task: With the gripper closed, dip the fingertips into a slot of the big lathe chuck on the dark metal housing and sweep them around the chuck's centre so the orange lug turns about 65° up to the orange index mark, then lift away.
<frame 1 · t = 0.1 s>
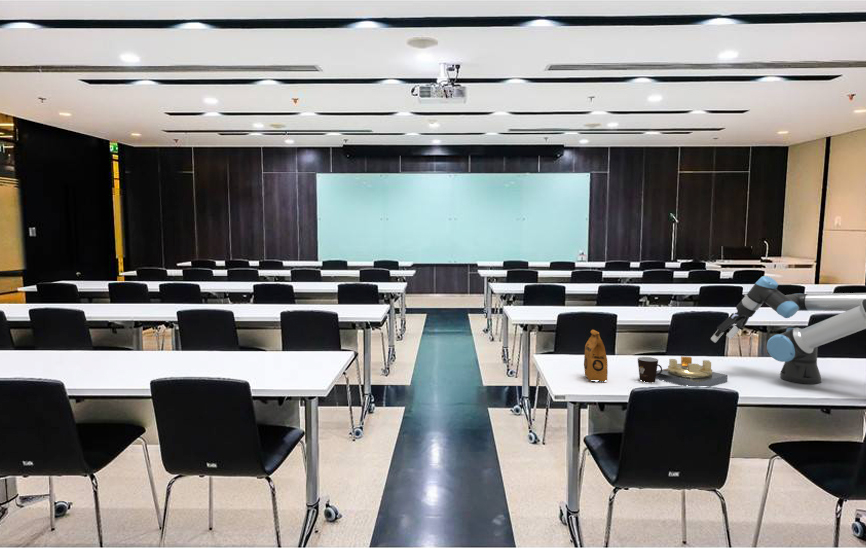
hand: (720, 338, 257), 15 cm above the table, tool tilted 35°, fingers open, 13 cm apart
lathe chuck: (689, 366, 241), point 6 cm above the table, hinge at 0.0°
coffee mug: (648, 382, 239), on the table
housing: (689, 379, 242), on the table
coffee package: (595, 379, 244), on the table
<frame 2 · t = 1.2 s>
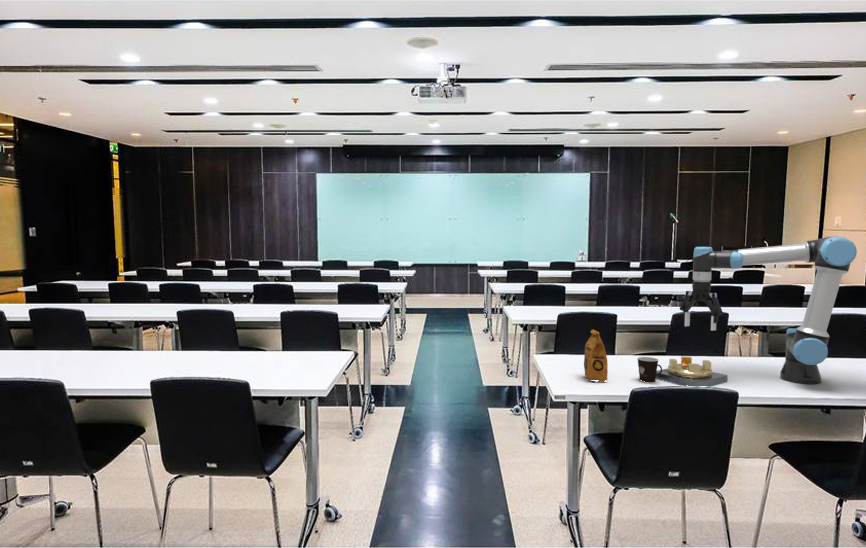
hand: (699, 328, 244), 23 cm above the table, tool pointing down, fingers open, 12 cm apart
nothing on the table moved.
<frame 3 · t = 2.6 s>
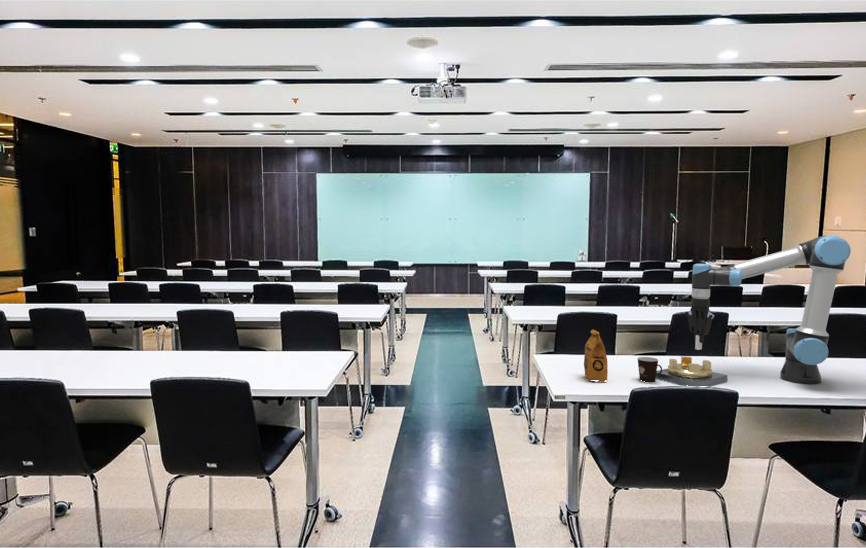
hand: (698, 349, 245), 13 cm above the table, tool pointing down, fingers closed
nothing on the table moved.
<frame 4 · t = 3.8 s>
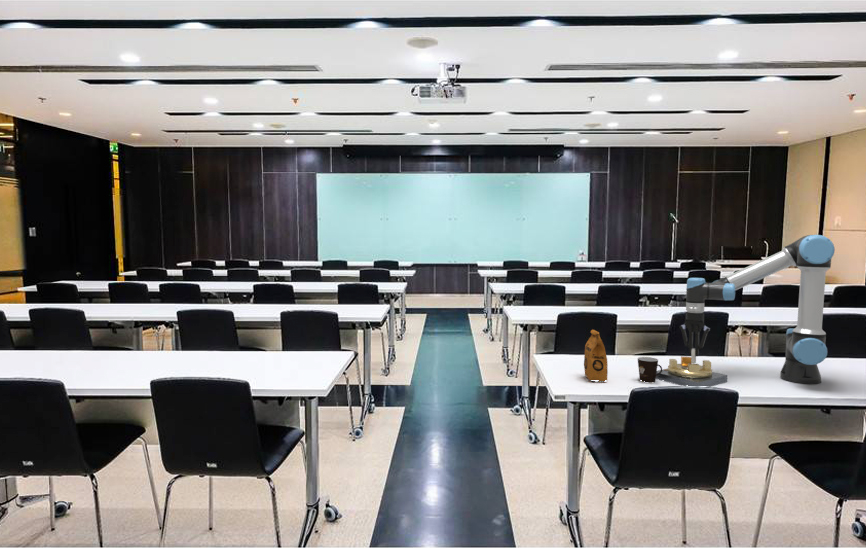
hand: (693, 362, 247), 7 cm above the table, tool pointing down, fingers closed
lathe chuck: (689, 366, 241), point 6 cm above the table, hinge at 0.0°, touching gripper
everything else where it was.
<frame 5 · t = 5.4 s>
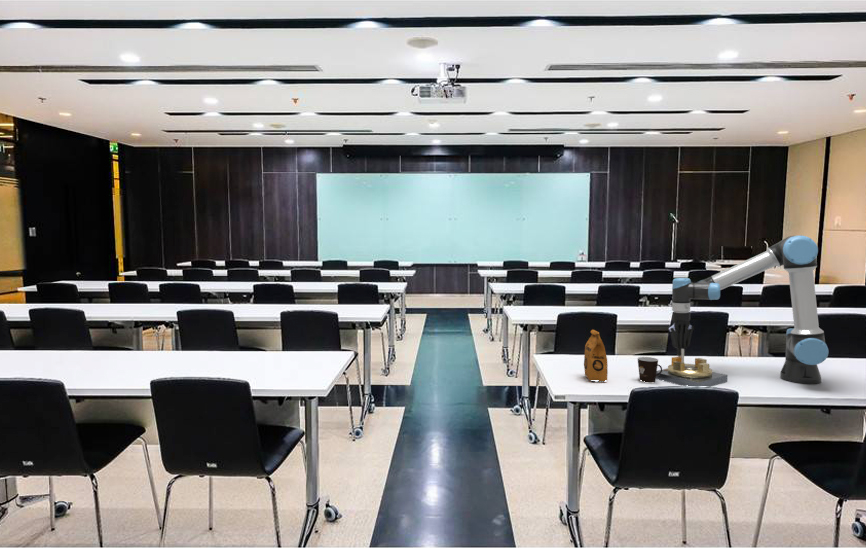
hand: (680, 362, 248), 6 cm above the table, tool pointing down, fingers closed
lathe chuck: (689, 366, 241), point 6 cm above the table, hinge at 38.0°, touching gripper
everything else where it was.
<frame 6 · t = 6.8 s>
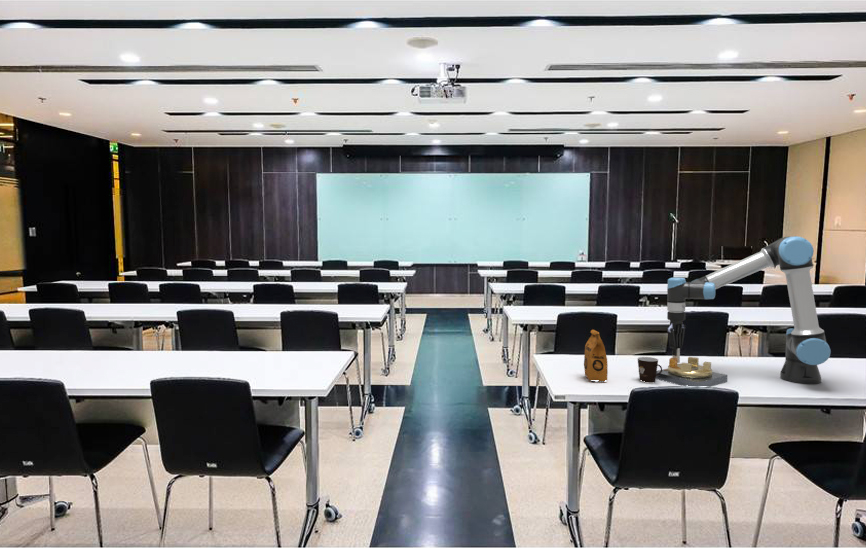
hand: (676, 362, 247), 7 cm above the table, tool pointing down, fingers closed
lathe chuck: (689, 366, 241), point 6 cm above the table, hinge at 66.1°, touching gripper
everything else where it was.
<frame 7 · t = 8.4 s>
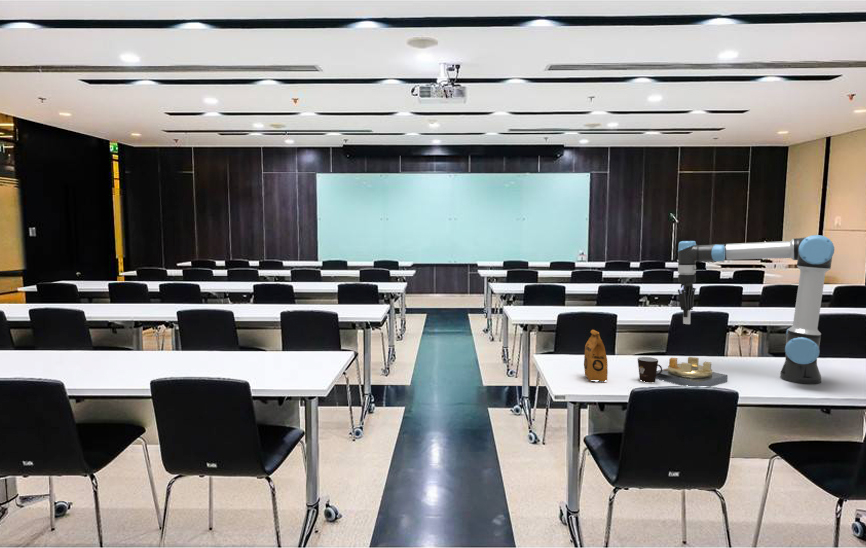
hand: (686, 323, 253), 23 cm above the table, tool pointing down, fingers closed
lathe chuck: (689, 366, 241), point 6 cm above the table, hinge at 66.1°
everything else where it was.
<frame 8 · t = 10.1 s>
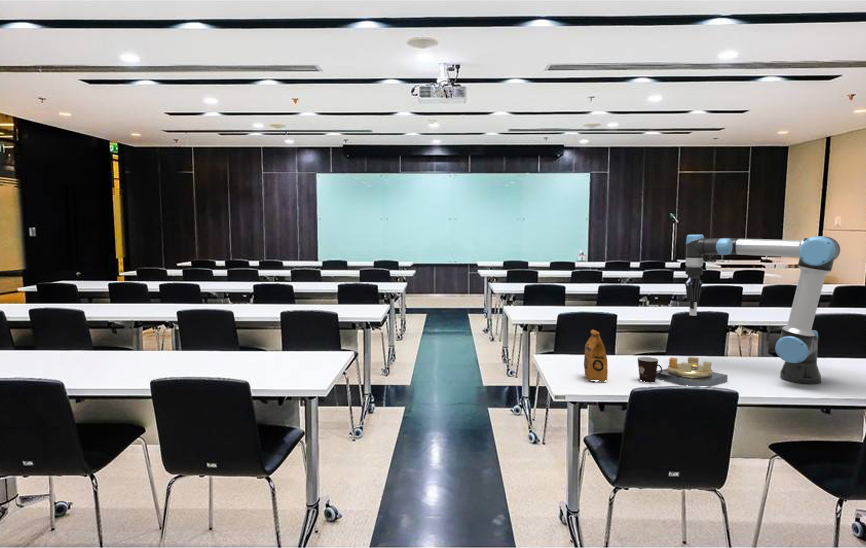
hand: (693, 315, 259), 26 cm above the table, tool pointing down, fingers closed
nothing on the table moved.
at the end: lathe chuck at +66° (first picture: +0°); coffee mug moved 0.2 cm from its start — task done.
